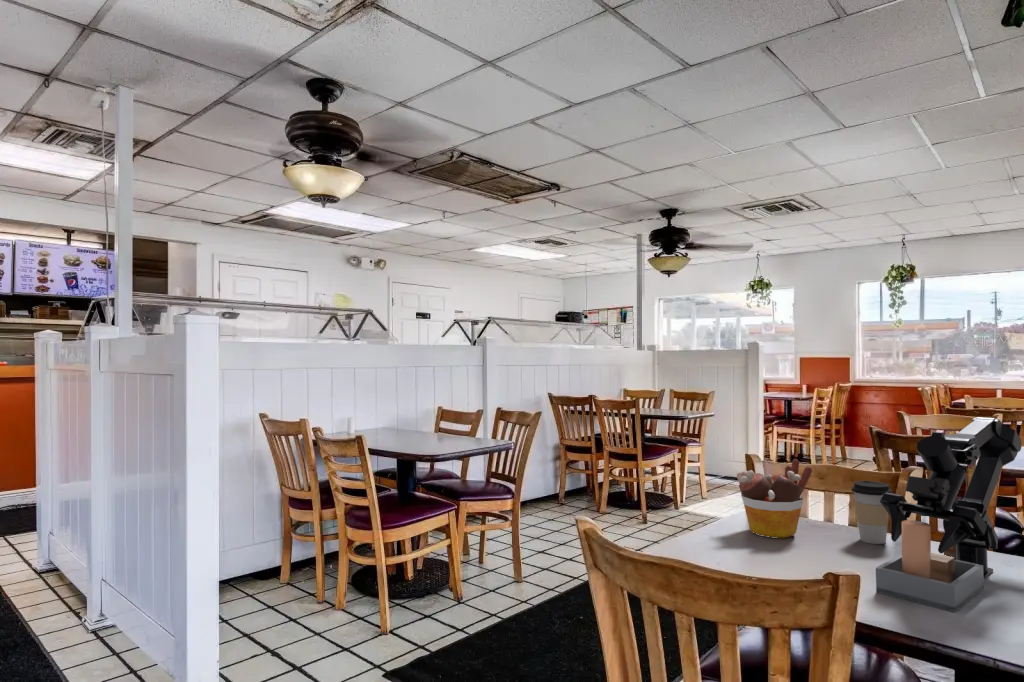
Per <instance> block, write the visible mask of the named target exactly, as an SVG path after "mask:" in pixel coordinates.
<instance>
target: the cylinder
mask: <svg viewBox="0 0 1024 682" xmlns="http://www.w3.org/2000/svg"><path fill="white" fill-rule="evenodd" d="M931 534H932V533H931V525H930V524H929V523H927V522H924V521H921V520H920V521H919V520H909V519H907V520H905V521H902V533H901V554H902V572H903V573H907V574H911V575H916V576H920V577H924V578H929V579H931V553H932V551H931V545H932V544H931V542H932V540H931V539H932V537H931Z"/></svg>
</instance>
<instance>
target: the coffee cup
mask: <svg viewBox="0 0 1024 682" xmlns="http://www.w3.org/2000/svg"><path fill="white" fill-rule="evenodd" d="M889 486H890V485H889V484H888V483H884V482H880V481H871V480H858V481H855V482H854V484H853V485H852V486H851V491H852V492H853V496H854V508H855V516H856V521H857V526H858V533H859V539H860V541H862V542H864V543H867V544H870V545H871V544H872V545H882V544H885V543H886V541H887V531H888V525H889V517H890V515H889V514H888V512H887V511H886V509H885V508H884V507H883V505H882V504H881V503H880V499H881V497H882V495H883V494H884V493H892V494H893V492H892V489H891V488H890V487H889Z"/></svg>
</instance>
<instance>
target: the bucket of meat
mask: <svg viewBox="0 0 1024 682" xmlns="http://www.w3.org/2000/svg"><path fill="white" fill-rule="evenodd" d="M799 468H800V461H799V460H798V459H797V458H794V459H792V461H791V465H786V466H785V468H784V474H782V473H781V474H774V475H771V474H767V475H765V476H764V474H762V473H759V472H757V473H755V472H754V471H753V470H752V469H750V470H747V471H741V472H738V473H737V474H736V478H737V482H738V483H739V485H738V487H739V491H740V495H741V498H742V502H743V506H744V507H743V508H744V509H745V515H746V518H747V524H748V527H749V530H750V531H751V532H752V533H753V532H754V533H757V534H759V535H764V536H769V537H777V538H776V539H788V538H791V537H793V536H794V535H795V534H797V530H798V525H799V520H800V516H801V511H802V507H803V503H804V499H803V497H802V493H803V492H804V490H805V488H806V485H808V484H807V483H808V481H809V479H810V477H811V476H812V473H813V468H812V467H811V466H806V467H804V469H803V472H802V473H801V475H799V471H800V469H799ZM754 533H753V534H754ZM759 535H758V536H759ZM790 536H791V537H790ZM787 537H788V538H787Z"/></svg>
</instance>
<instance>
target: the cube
mask: <svg viewBox="0 0 1024 682" xmlns="http://www.w3.org/2000/svg"><path fill="white" fill-rule="evenodd" d="M955 558H956V557H950V556H945V555H944V554H941V553H935V552H931V579H933V580H937V581H941V582H946V583H952V582H953V581H954V580H955V560H956V559H955Z"/></svg>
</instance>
